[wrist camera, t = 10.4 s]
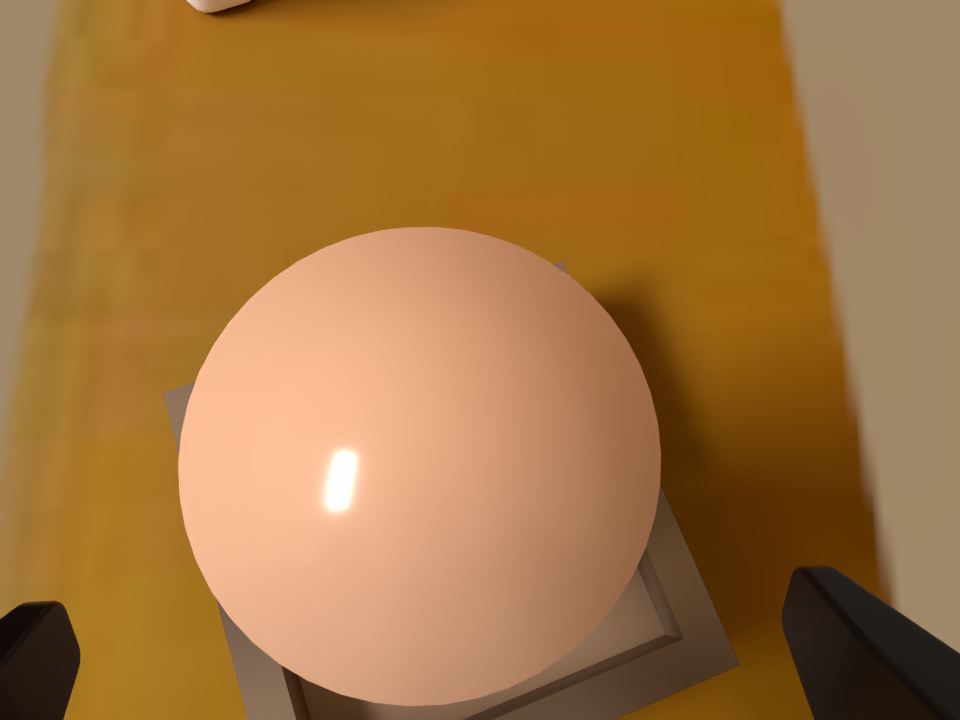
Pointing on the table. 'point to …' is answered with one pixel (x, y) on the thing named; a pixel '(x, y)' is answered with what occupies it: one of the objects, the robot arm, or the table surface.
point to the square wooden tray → (563, 685)
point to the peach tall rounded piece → (419, 466)
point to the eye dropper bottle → (215, 4)
